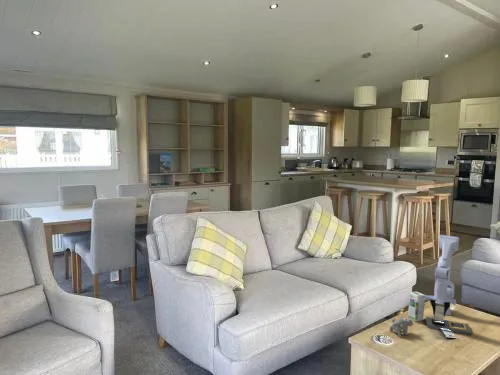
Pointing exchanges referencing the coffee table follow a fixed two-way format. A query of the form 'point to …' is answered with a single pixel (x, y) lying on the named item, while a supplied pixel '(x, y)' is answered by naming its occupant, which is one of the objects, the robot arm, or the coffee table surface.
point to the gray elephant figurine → (401, 325)
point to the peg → (439, 312)
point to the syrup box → (416, 306)
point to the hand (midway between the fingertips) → (438, 314)
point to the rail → (449, 326)
